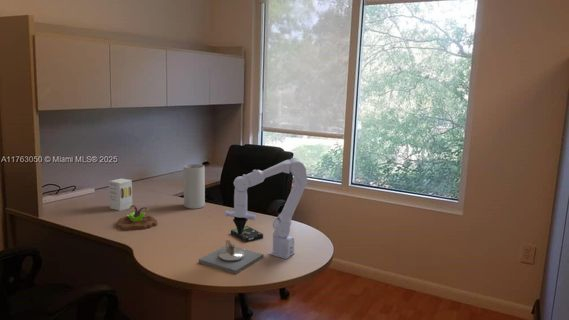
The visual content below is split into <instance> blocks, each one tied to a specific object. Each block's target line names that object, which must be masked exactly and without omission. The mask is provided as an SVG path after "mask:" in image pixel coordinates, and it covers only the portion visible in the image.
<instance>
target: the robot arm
mask: <svg viewBox="0 0 569 320" xmlns="http://www.w3.org/2000/svg"><path fill="white" fill-rule="evenodd" d="M280 173H285V174H290V173H291V175H292V177H293V178H294V183H293V186H292V187H291V191H290V193H289V195H288V197H287V199H286V202H285V204H284V206H283V208H282V211H281V212H280V213H279V214H278V215H277V218H275V219H274V220H273V223H272V228H273V229H274V232H273V233H272V251H270V252H268V255H270V256H275V257H278V258H281V259H285V260H286V259H288V258H290V257H291V256H293V255H295V254H296V252H295V237H292V236H291V235H290V232H291V228H290V227H291V224H292V218H293V216H294V213H295V211H296V209H297V206H298V205H299V203H300V200H301V198H302V195H303V193H304V191H305V189H306V187H307V184H308V175H307V168H306V166H305V165H304V163H303V162H302V161H300V160H299V158H296V157H292V158H290V159H286V160H283V161H281V162H279V163H277V164H275V165H273V166H270V167H267V168H266V169H263V170H260V169H253V170H252V171H251V172H249V173H247V174H245V173H244V174H242V176H237V177H235V179H234V181H233V182H232V183H233V186H234V190H233V191H234V194H233V211H231V210H226V211H225V212H224V217H230V218H231V217H233V219H232V221H233V223H234V225H235V228H236V229H237V231H238V234H242V233H243V230H244V227H245V225H246V223H247V222H248V220H252V221H256V220H257V219H258V218H257V217H258V216H257V214H253V213H249V212H248V189H249V188H251V187H254V186H256V185H259V184H261V183H263V182H264V181H265V179H267V178H269V177H272V176H274V175H278V174H280Z"/></svg>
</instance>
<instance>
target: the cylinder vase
mask: <svg viewBox="0 0 569 320" xmlns="http://www.w3.org/2000/svg"><path fill="white" fill-rule="evenodd" d="M182 168H183V170H182V172H183V206H184V208H186V209H193V210H194V209H195V210H197V209H202V208H203V207H205V206H206V201H205V200H206V197H205V196H206V193H205V191H206V189H205V188H206V187H205V186H206V185H205V183H206V180H205V179H206V177H205V174H206V172H205V171H206V170H205V165H204V164H200V163H190V164H185V165H183V167H182Z"/></svg>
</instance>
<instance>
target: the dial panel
mask: <svg viewBox="0 0 569 320" xmlns="http://www.w3.org/2000/svg"><path fill="white" fill-rule="evenodd" d="M226 249H227V248H226V245H224V246H222V247H220V248H219V249H216V250H214V251H212V252H210V253H208V254H207V255H204V256H202V257H201V258H199V259H198V263H199V264H202V265H206V266H209V267H212V268H216V269H219V270H222V271H225V272H228V273H232V274H235V275H238V274H239V273H241V272H242V271H243V270H245V269H247V268H249V267H250V266H251V265H254V264H255V263H257V262H259V261H260V260H262V259H264V254H263V253H259V252H256V251H252V250H248V249H246V248H242V247H237V246H235V247H234V249H239V250H242V251H243V252H244V258H243V259H241V260H239V261H233V262H229V261H223V260H221V259H220V258H219V253H220V252H221V251H223V250H226Z"/></svg>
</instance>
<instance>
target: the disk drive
mask: <svg viewBox="0 0 569 320" xmlns="http://www.w3.org/2000/svg"><path fill="white" fill-rule="evenodd" d="M230 234H231V235H232V236H235V237H236V238H238V239H240V240H242V241H243V242H245V243H248V242H253V241H257V240H261V239H264V233H262V232H260V231H258V230H257V229H254V228H252V227H251V226H248V225H246V226H244V230H243V233H242V234H238V231H237V228H232V229H231V230H230Z"/></svg>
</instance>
